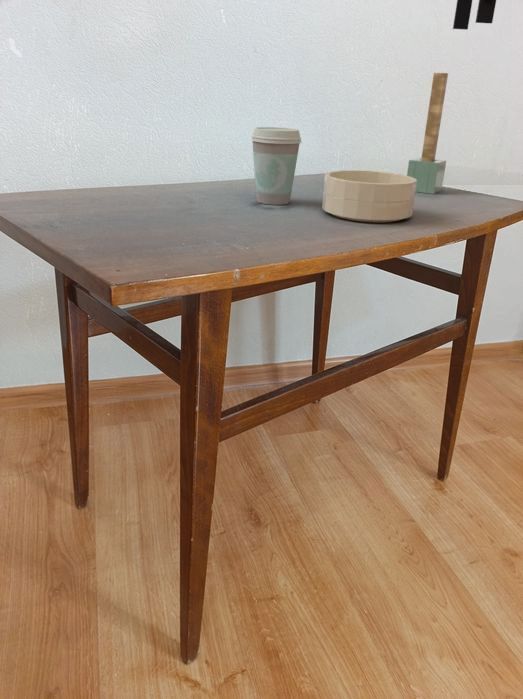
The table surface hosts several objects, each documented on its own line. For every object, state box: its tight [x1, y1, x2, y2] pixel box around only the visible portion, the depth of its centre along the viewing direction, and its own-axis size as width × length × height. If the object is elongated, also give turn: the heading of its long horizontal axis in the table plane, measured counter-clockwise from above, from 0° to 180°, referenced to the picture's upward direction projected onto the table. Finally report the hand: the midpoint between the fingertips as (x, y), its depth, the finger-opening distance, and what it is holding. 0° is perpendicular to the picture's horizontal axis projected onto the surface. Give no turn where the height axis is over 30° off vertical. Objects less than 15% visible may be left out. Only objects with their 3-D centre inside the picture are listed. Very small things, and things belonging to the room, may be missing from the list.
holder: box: [406, 157, 447, 195], centre depth 121 cm, size 6×6×6 cm
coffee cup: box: [250, 126, 302, 206], centre depth 101 cm, size 8×9×12 cm
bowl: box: [321, 169, 417, 223], centre depth 95 cm, size 14×14×6 cm
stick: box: [420, 72, 449, 162], centre depth 117 cm, size 2×2×22 cm
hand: (471, 26), depth 109 cm, fingers open, 13 cm apart
